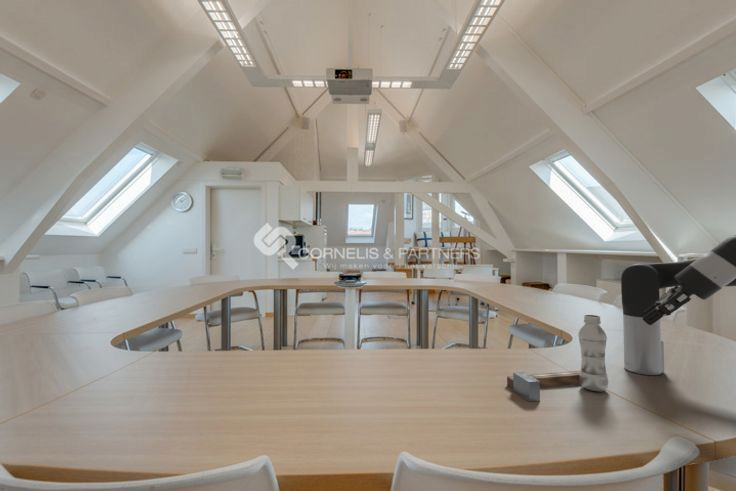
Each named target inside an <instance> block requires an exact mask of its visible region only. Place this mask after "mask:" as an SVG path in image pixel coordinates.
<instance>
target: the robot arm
mask: <svg viewBox="0 0 736 491" xmlns="http://www.w3.org/2000/svg"><path fill="white" fill-rule="evenodd" d="M620 282H621V283H620V287H621V288H620V289H621V290H620V291H621V292H620V293H621V306H622V320H623V323H622V324H623V326H622V327H623V328H622V329H623V330H622V331H623V332H622V333H623V364H624V365H623V367H624V369H625V370H627V371H629V372H631V373H636V374H639V375H645V376H660V375H662V373H665V346H664V345H665V342H664V341H663V340H662V338H661V337H662V335H661V334H662V333H661V330H662V329H661V319H662V318H663V317H666V316H667V317H668V316H670V315H672V314H673V313H674V312H676V311H677V310H679V309H680V308H681V307H683V306H684V305H686V304H687V303H689V302H690V301H691V300H692V295H693V296H694V295H695V296H696V297H697V298H699V299H701V300H702V301H703V300H704V301H706V300H707V299H709V298H710V297H711V296H713V295H714V294H716V293H718V291H721V290H722V289H723V288H724V287H736V234H734V235H730V236H729V237H727V238H726V239H724V240H723V241H722V242H720V243H718V245H716V246H715V247H713V248H711V250H710V251H708V252H706V253H705V254H702V255H701V256H699V257H695V258H691V259H690V258H689V259H686V260H681V261H673V262H659V263H658V262H656V263H655V262H654V263H652V262H651V263H650V262H649V263H646V262H645V263H644V262H643V263H642V262H640V263H633V264H631V265H628V266H627V267H626V268H624V270H623V271H622V273H621V278H620ZM665 288H668V290H667V291H666V292H665V293H664V294H662V295H660V293H661V292H660V289H665Z"/></svg>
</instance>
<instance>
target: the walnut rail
mask: <svg viewBox="0 0 736 491" xmlns="http://www.w3.org/2000/svg"><path fill="white" fill-rule="evenodd" d="M580 371H581V370H573V371H570V370H569V371H560V372H559V371H558V372H545V373H534V374H532V373H531V374H529V375H530V376H532V377H533V378H535V379H537V380H539V381H540V388H542V387H543V388H545V387H546V388H547V387H555V386H570V385H581V383H580V379H579V377H580ZM506 385H507V386H508V387H509V388H511V389H512V390H514V388H513V375H509V376H506Z"/></svg>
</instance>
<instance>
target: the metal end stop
mask: <svg viewBox="0 0 736 491" xmlns="http://www.w3.org/2000/svg"><path fill="white" fill-rule="evenodd" d="M530 375H531V374H528V373H526V372H525V371H515V372H513V373H512V376H513V388H514V389H513V392H515V393H516V394H517V395H518V396H520V397H521V398H523V399H524V400H526V401H527V402H529V403H531V402H541V390H540V389H541V387H540V381H539V380H537V379H535V378H533V377H532V376H530Z"/></svg>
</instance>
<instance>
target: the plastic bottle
mask: <svg viewBox="0 0 736 491" xmlns="http://www.w3.org/2000/svg"><path fill="white" fill-rule="evenodd" d="M583 316H584V317H583V323H584V324H583V325H582V326H581V328H580V329H579V331H578V334H577V335H578V342H579V346H580V354H581V355H580V356H581V361H580V370H579V371H580V377H579V379H580V383H581V384H580V385H581V386H582V388H584V389H586V390H589V391H592V392H605V391H606V390H608V388H609V383H610V382H609V376H608V373H607V369H606V357H605V356H606V346H607V340H608V339H607V338H608V337H607V334H606V332H605V331H604V329H603V328H602V327H601V316H600V315H596V314H584V315H583Z"/></svg>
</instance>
